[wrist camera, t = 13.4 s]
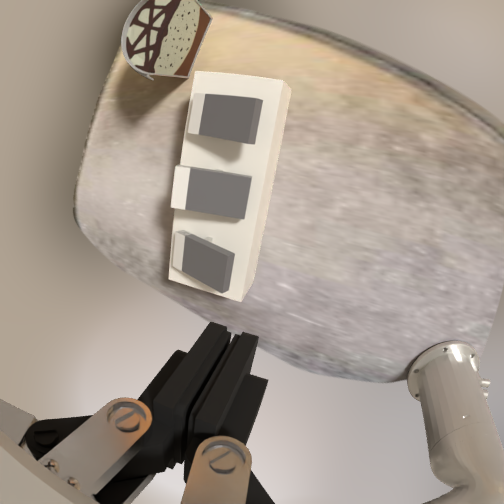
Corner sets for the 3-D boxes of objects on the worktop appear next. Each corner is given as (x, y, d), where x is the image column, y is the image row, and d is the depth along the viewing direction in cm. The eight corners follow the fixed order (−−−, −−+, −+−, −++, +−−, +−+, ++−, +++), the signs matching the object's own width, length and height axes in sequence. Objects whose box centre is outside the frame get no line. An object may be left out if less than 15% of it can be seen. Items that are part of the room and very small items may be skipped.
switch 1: (263, 100, 28) (256, 97, 27) (254, 144, 30) (247, 143, 29) (202, 94, 32) (194, 93, 31) (195, 133, 34) (187, 132, 33)
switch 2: (252, 176, 33) (251, 178, 32) (244, 216, 35) (244, 219, 34) (178, 164, 33) (175, 166, 32) (173, 204, 35) (170, 207, 33)
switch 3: (235, 253, 34) (227, 256, 33) (229, 290, 36) (221, 293, 35) (183, 229, 38) (175, 231, 37) (179, 263, 40) (172, 265, 39)
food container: (179, 4, 34) (141, -21, 25) (216, 9, 33) (183, -20, 24) (149, 79, 39) (104, 70, 30) (184, 88, 38) (143, 78, 29)
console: (291, 89, 35) (281, 78, 28) (253, 282, 45) (237, 306, 38) (213, 79, 37) (188, 68, 30) (186, 262, 46) (162, 282, 40)
